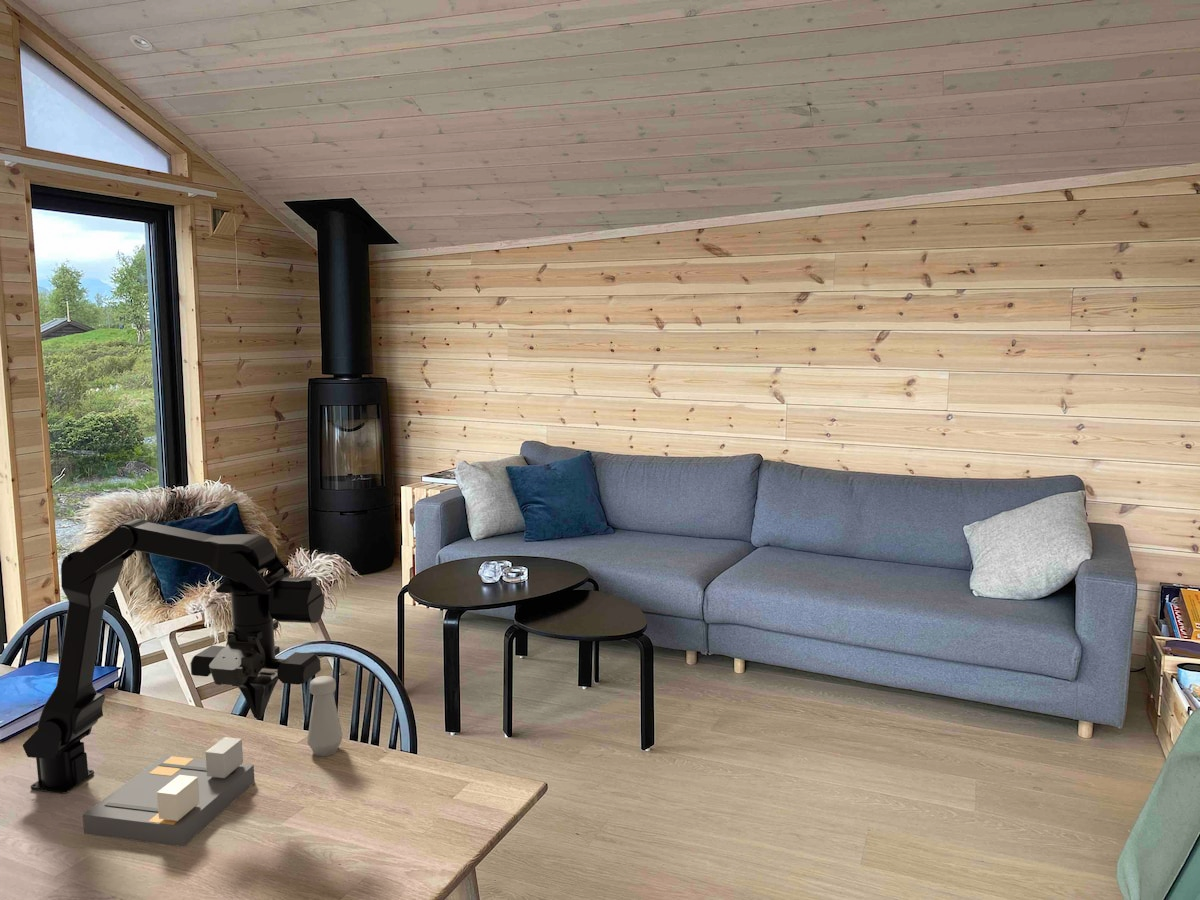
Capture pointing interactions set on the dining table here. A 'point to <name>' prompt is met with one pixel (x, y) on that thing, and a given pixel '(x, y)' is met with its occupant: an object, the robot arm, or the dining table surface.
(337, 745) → the salt shaker
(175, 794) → the cream fader
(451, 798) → the dining table surface
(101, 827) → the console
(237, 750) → the block
